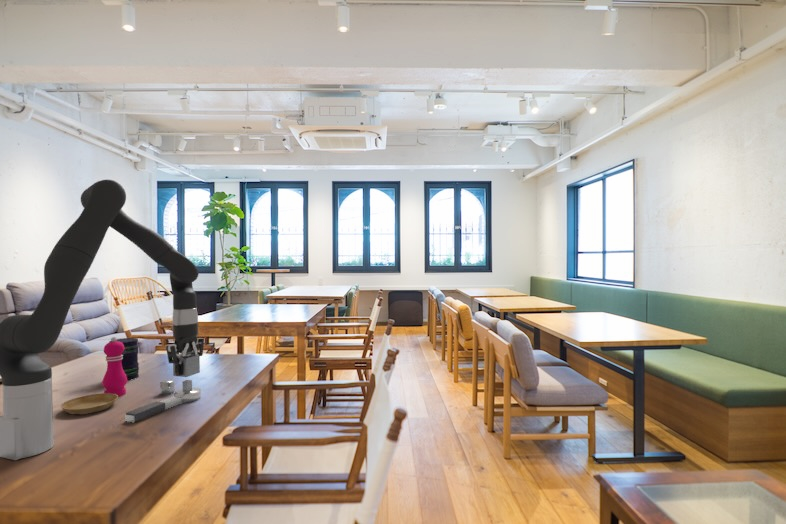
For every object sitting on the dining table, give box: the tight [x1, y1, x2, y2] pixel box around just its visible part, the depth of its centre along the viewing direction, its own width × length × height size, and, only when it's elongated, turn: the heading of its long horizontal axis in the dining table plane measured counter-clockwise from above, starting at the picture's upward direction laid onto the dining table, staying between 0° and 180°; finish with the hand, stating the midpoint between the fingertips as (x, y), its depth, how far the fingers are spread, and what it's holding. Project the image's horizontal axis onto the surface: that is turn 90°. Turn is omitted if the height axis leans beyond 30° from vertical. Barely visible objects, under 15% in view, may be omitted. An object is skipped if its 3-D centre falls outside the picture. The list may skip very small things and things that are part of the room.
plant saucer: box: [60, 392, 119, 415], centre depth 134 cm, size 15×15×3 cm
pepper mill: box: [101, 336, 128, 397], centre depth 147 cm, size 7×7×20 cm
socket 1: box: [159, 379, 176, 396], centre depth 148 cm, size 4×4×4 cm
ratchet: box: [124, 379, 202, 424], centre depth 134 cm, size 25×8×6 cm, turn 160°
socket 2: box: [172, 353, 201, 378], centre depth 142 cm, size 6×6×7 cm
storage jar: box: [108, 337, 140, 381], centre depth 168 cm, size 10×10×15 cm
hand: (186, 372), depth 142 cm, fingers closed on socket 2, 5 cm apart
